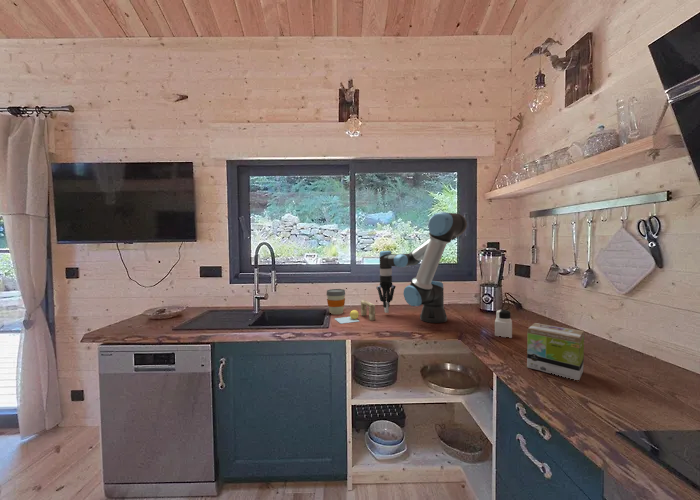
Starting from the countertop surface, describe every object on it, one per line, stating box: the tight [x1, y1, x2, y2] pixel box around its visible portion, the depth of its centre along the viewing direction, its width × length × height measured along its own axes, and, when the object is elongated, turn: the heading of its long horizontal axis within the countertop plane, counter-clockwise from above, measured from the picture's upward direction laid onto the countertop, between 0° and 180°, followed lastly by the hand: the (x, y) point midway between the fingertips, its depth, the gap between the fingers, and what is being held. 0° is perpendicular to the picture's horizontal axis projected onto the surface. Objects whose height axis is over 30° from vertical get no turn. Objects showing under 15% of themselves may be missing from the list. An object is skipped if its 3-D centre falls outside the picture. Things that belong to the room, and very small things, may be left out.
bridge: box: [360, 300, 376, 321], centre depth 177 cm, size 3×14×9 cm, turn 21°
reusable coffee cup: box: [326, 288, 346, 315], centre depth 190 cm, size 13×13×15 cm
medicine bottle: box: [494, 309, 513, 339], centre depth 139 cm, size 7×7×12 cm
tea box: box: [526, 322, 585, 381], centre depth 100 cm, size 15×10×15 cm, turn 45°
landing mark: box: [333, 316, 360, 325], centre depth 172 cm, size 12×12×1 cm
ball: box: [349, 309, 360, 320], centre depth 173 cm, size 6×6×6 cm
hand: (386, 312), depth 181 cm, fingers closed
